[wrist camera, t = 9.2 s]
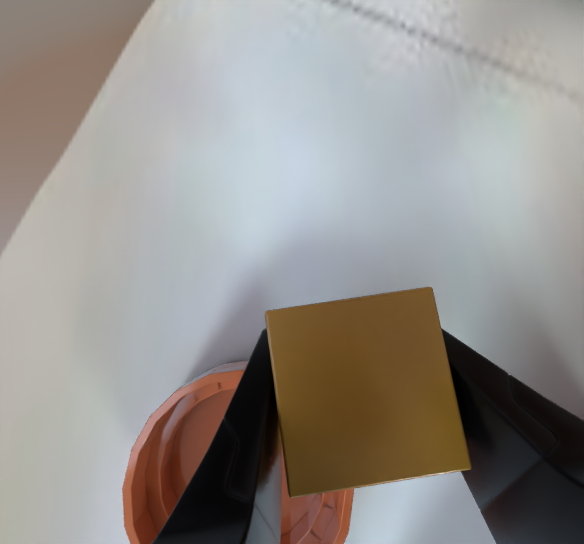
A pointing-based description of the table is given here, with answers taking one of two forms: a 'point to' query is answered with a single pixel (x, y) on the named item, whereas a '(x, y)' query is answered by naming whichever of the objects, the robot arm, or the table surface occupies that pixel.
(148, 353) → the table surface
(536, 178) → the table surface
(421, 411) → the ochre block
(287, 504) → the bowl
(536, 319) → the table surface
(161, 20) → the table surface
